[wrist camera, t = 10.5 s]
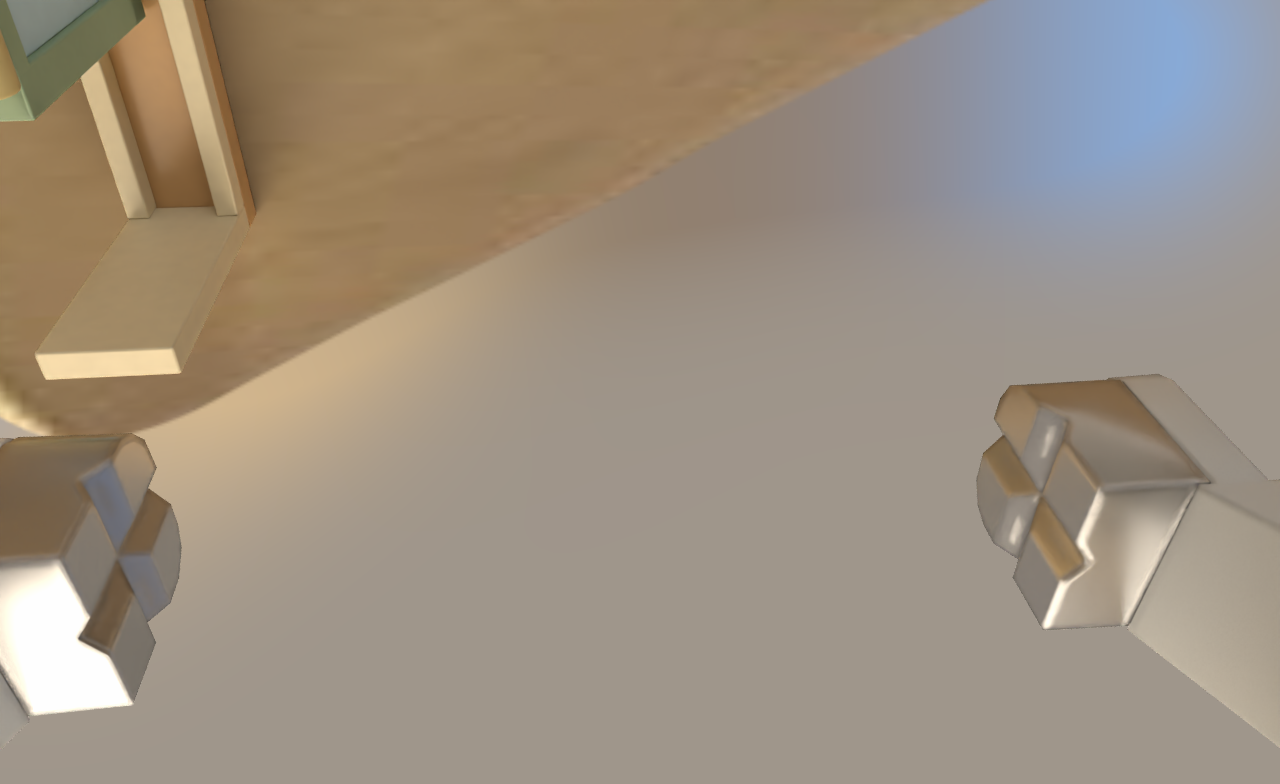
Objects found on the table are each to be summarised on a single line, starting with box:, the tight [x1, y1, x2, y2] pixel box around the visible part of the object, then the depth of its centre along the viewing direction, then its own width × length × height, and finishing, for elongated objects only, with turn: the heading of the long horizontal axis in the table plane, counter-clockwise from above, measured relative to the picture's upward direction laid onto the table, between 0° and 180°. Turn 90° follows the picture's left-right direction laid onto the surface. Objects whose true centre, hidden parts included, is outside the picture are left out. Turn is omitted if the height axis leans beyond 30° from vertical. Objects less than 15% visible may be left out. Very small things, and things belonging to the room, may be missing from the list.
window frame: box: [35, 0, 256, 380], centre depth 28 cm, size 4×18×11 cm, turn 179°
